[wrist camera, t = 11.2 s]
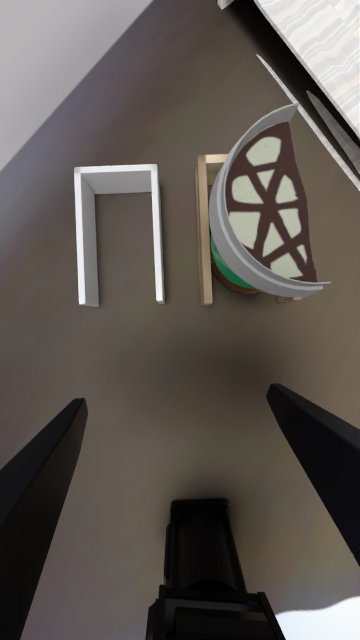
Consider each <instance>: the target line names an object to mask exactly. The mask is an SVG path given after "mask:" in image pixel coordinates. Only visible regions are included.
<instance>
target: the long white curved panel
mask: <svg viewBox="0 0 360 640" xmlns="http://www.w3.org/2000/svg"><path fill="white" fill-rule="evenodd" d="M233 1H234V0H218V5H219V7H220V8H221V9H224V8H225V7H226V6H228V5H229V4H230V3H232V2H233ZM254 2H255V3H256V5H257V6H258V8H259V9H260V11H261V12H262V13H263V15H264V16H265V17H266V19H267V20H268V21H269V23H270V24H271V25H272V26H273V28H274V29H275V30H276V32H277V33H278V34H279V35H280V37H281V38H282V39H283V41H284V42H285V43H286V44H287V46H288V47H289V48H290V50H291V51H292V52H293V54H294V55H295V56H296V57H297V59H298V60H299V61H300V63H301V64H302V65H303V66H304V68H305V69H306V70H307V72H308V73H309V74H310V75H311V77H312V78H313V79H314V81H315V82H316V83H317V84H318V86H319V87H320V88H321V90H322V91H323V92H324V93H325V95H326V96H327V97H328V99H329V100H330V101H331V102H332V104H333V105H334V106H335V108H336V109H337V110H338V111H339V113H340V114H341V115H342V117H343V118H344V119H345V120H346V122H347V123H348V124H349V126H350V127H351V128H352V129H353V131H354V132H355V133H356V135H357V137H358V139H359V141H360V0H254ZM255 54H256V53H255ZM256 55H257V54H256ZM257 56H258V55H257ZM258 58H259V59H260V60H261V62H262V63H263V64H264V65H265V67H266V68H267V69H268V71H269V72H270V73H271V74H272V76H273V77H274V78H275V79H276V81H277V82H278V83H279V85H280V86H281V87H282V89H283V90H284V91H285V93H286V94H287V95H288V97H289V98H290V100H291V101H292V102H293V104H295V103H299V102H298V101H297V100H296V99H295V98H294V96H293V95H292V94H291V93H290V91H289V90H288V89H287V88H286V86H285V85H284V84H283V83H282V81H281V80H280V79H279V78H278V76H277V75H276V74H275V72H274V71H273V70H272V69H271V67H270V66H269V65H268V64H267V63H266V62H265V61H264V60H263V59H262V58H261V57H260V56H258ZM306 92H307V94H308V96H309V98H310V100H311V102H312V104H313V105H314V107H315V108H316V110H317V111H318V113H319V114H320V116H321V117H322V119H323V120H324V122H325V123H326V125H327V126H328V128H329V129H330V131H331V132H332V134H333V135H334V137H335V138H336V140H337V141H338V143H339V144H340V145H341V147H342V148H343V150H344V151H345V152H346V154H347V155H348V157H349V158H350V160H351V161H352V163H353V165H354V166H355V168H356V169H357V171H358V173H359V174H360V148H359V147H358V146H357V145H356V144H355V143H354V142H353V141H352V140H351V138H350V137H349V136H348V135H347V133H346V132H345V131H344V130H343V128H342V127H341V126H340V125H339V123H338V122H337V121H336V120H335V119H334V117H333V116H332V115H331V114H330V112H329V111H328V110H327V109H326V107H325V106H324V105H323V104H322V102H321V101H320V100H319V99H318V98H317V97H315V96H314V95H313V94H312V93H311V92H309V91H308V90H307V91H306ZM297 109H298V110H299V112H300V113H301V114H302V116H303V117H304V119H305V120H306V121H307V123H308V124H309V125H310V127H311V128H312V129H313V131H314V132H315V133H316V135H317V136H318V138H319V139H320V140H321V142H322V143H323V144H324V146H325V147H326V148H327V150H328V151H329V152H330V154H331V155H332V156H333V157H334V159H335V160H336V161H337V163H338V164H339V165H340V166H341V168H342V169H343V170H344V172H345V173H346V174H347V175H348V177H349V178H350V179H351V181H352V182H353V183H354V185H355V186H356V187H357V188H358V190H359V191H360V181H359V180H358V179H357V178H356V176H355V175H354V174H353V173H352V171H351V170H350V169H349V167H348V166H347V165H346V163H345V162H344V161H343V160H342V158H341V157H340V156H339V154H338V153H337V152H336V150H335V149H334V148H333V147H332V145H331V144H330V143H329V141H328V140H327V139H326V137H325V136H324V135H323V133H322V132H321V131H320V130H319V128H318V127H317V126H316V124H315V123H314V122H313V120H312V119H311V118H310V117H309V115H308V114H307V113H306V111H305V110H304V109H303V108H302V106H301V105H300V104H299V105H298V107H297Z"/></svg>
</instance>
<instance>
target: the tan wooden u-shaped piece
mask: <svg viewBox="0 0 360 640" xmlns="http://www.w3.org/2000/svg"><path fill="white" fill-rule="evenodd" d="M228 155H229V154H220V155H198V156H197V165H196V174H195V190H196V212H197V234H198V255H199V277H200V298H201V306H209V305H211V304H212V303H213V302H212V281H211V259H210V238H209V217H208V196H207V185H214V182H215V180H216V177H217V175H218V173H219V171H220V169H221V167H222V166H223V164H224V162H225V160H226V158H227V157H228ZM301 299H302V298H301V297H282V296H278V295H277V303H285V302H290V301H296V300H301Z"/></svg>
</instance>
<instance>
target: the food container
mask: <svg viewBox="0 0 360 640" xmlns="http://www.w3.org/2000/svg"><path fill="white" fill-rule="evenodd" d="M298 105H299V103H295V104H291V105H287V106H284V107H282V108H279V109H277V110H274V111H272V112H271V113H269V114H267V115H266V116H264V117H263V118H261V119H260V120H259V121H257V122H256V123H255V124H254V125H253V126H252V127H250V128H249V130H248V131H247V132H246V133H245V134H244V135H243V136H242V137H241V139H240V140H239V141H238V142H237V143H236V144H235V146H234V147H233V148H232V150H231V152H230V153H229V155H228V157H227V158H226V160H225V162H224V164H223V166H222V167H221V169H220V171H219V173H218V175H217V177H216V180H215V182H214V185H213V187H212V191H211V196H210V201H209V222H210V229H211V238H210V259H211V270H212V273H213V274H214V276H215V277H216V279H217V280H218V281H219V282H220V283H221V284H222V285H224V286H225V287H227V288H228V289H230V290H232V291H235V292H238V293H242V294H258V293H266V292H267V293H269V294H274V295H278V296H282V297H308V296H311V295H313V294H315V293H317V292H319V291H321V290H323V285H326V284H329V283H331V282H321V283H317V278H316V270H315V268H314V264H313V260H312V254H311V248H310V241H309V226H308V210H307V199H306V195H305V191H304V188H303V184H302V181H301V178H300V175H299V172H298V169H297V165H296V162H295V156H294V151H293V145H292V139H291V133H290V127H289V124H290V121H291V119H292V117H293V115H294V113H295V111H296V109H297V107H298Z"/></svg>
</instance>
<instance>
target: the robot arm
mask: <svg viewBox="0 0 360 640" xmlns="http://www.w3.org/2000/svg"><path fill="white" fill-rule="evenodd" d="M266 398H267V401H268V403H269V405H270V408H271V410H272V412H273V414H274V416H275V418H276V420H277V423H278V425H279V427H280V429H281V431H282V432H283V434H284V436H285V438H286V439H287V441H288V443H289V445H290V446H291V448H292V450H293V452H294V453H295V455H296V457H297V459H298V460H299V462H300V464H301V465H302V467H303V469H304V471H305V472H306V474H307V476H308V478H309V479H310V481H311V483H312V485H313V486H314V488H315V490H316V491H317V493H318V495H319V497H320V498H321V500H322V502H323V504H324V505H325V507H326V509H327V510H328V512H329V514H330V516H331V517H332V519H333V521H334V523H335V524H336V526H337V528H338V530H339V531H340V533H341V535H342V536H343V538H344V540H345V542H346V543H347V545H348V547H349V549H350V550H351V552H352V554H354V558H355V559H356V561H357V563H358V564H359V566H360V430H359V429H358V428H356V427H354V426H352V425H351V424H349V423H347V422H346V421H344V420H342V419H340V418H339V417H337V416H335V415H333V414H332V413H330V412H328V411H326V410H325V409H323V408H321V407H319V406H318V405H316V404H314V403H312V402H311V401H309V400H307V399H305V398H304V397H302V396H300V395H298V394H297V393H295V392H293V391H291V390H290V389H288V388H286V387H284V386H283V385H281V384H278V383H276V384H271V385H270V387H269V389H268V392H267V395H266ZM87 416H88V410H87V404H86V400H85V398H76V399H74V400H72V401H71V402H70V403H69V404H68V405H67V406H66V407H65V408H64V409H63V410H62V411H61V412H60V413H59V414H58V415H57V416H56V417H55V418H54V419H53V420H52V421H51V422H50V423H48V424H47V425H46V426H45V427H44V428H43V429H42V430H41V431H40V432H39V433H38V434H37V435H36V436H35V437H34V438H33V439H32V440H31V441H30V442H29V443H28V444H27V445H26V446H25V447H24V448H23V449H21V450H20V451H19V452H18V453H17V454H16V455H15V456H14V457H13V458H12V459H11V460H10V461H9V462H8V463H7V464H6V465H5V466H4V467H3V468H2V469H1V470H0V640H20V638H21V635H22V632H23V629H24V626H25V622H26V619H27V616H28V613H29V610H30V607H31V604H32V601H33V598H34V594H35V591H36V588H37V585H38V582H39V579H40V576H41V573H42V570H43V567H44V563H45V560H46V557H47V554H48V551H49V548H50V545H51V542H52V539H53V535H54V532H55V529H56V526H57V523H58V520H59V517H60V514H61V511H62V507H63V504H64V501H65V498H66V495H67V492H68V489H69V486H70V483H71V480H72V476H73V473H74V470H75V467H76V464H77V461H78V457H79V454H80V449H81V445H82V440H83V435H84V431H85V426H86V421H87ZM223 505H225V506H223ZM174 507H176V508H174ZM170 512H171V524H168V526H167V528H166V544H165V560H164V585H159V598H158V599H156V602H155V603H154V604H153V605H151V606H150V607H149V611H148V621H147V630H146V639H145V640H286V639H285V637H284V635H283V633H282V630H281V628H280V626H279V624H278V621H277V619H276V617H275V615H274V612H273V610H272V608H271V606H270V603H269V601H268V599H267V597H266V595H265V593H264V592H257V594H256V593H247V589H246V585H245V581H244V577H243V573H242V569H241V566H240V562H239V558H238V554H237V550H236V546H235V542H234V538H233V534H232V530H231V526H230V508H229V503H228V501H227V500H226V499H213V500H193V501H174V502H172V503H171V508H170Z"/></svg>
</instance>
